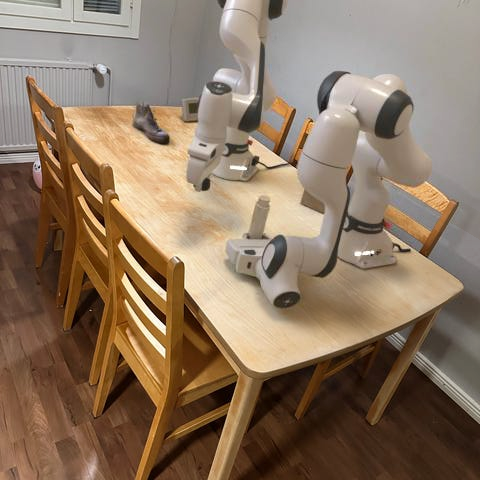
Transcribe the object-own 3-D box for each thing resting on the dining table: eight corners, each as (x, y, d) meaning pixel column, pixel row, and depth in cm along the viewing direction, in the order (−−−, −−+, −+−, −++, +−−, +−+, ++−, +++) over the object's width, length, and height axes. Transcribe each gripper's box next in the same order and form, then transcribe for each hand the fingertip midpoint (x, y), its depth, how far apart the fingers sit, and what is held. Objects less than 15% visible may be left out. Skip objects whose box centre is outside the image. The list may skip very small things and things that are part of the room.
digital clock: (183, 122, 219) (186, 101, 213) (175, 116, 224) (177, 95, 219) (211, 122, 228) (214, 101, 222) (202, 115, 233) (205, 95, 228)
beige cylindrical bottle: (258, 248, 136) (271, 195, 127) (258, 256, 133) (272, 202, 123) (244, 245, 136) (257, 193, 126) (244, 253, 132) (257, 200, 123)
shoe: (173, 145, 192) (176, 117, 186) (149, 145, 187) (151, 117, 180) (153, 123, 209) (155, 98, 203) (130, 123, 204) (132, 97, 197)
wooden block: (323, 213, 164) (339, 164, 154) (299, 203, 168) (314, 154, 157) (332, 205, 172) (349, 158, 161) (310, 195, 176) (324, 148, 165)
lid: (195, 191, 128) (197, 183, 127) (191, 183, 132) (192, 176, 130) (211, 191, 130) (213, 183, 129) (206, 183, 134) (207, 176, 132)
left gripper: (210, 130, 133) (203, 172, 140) (185, 150, 116) (178, 196, 123) (230, 136, 132) (222, 178, 139) (207, 157, 115) (199, 203, 122)
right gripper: (304, 253, 123) (288, 226, 134) (235, 253, 117) (223, 225, 127) (299, 271, 127) (283, 243, 137) (231, 272, 120) (219, 243, 131)
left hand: (201, 187), depth 131 cm, fingers closed on lid, 4 cm apart
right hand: (253, 234), depth 132 cm, fingers closed on beige cylindrical bottle, 4 cm apart
